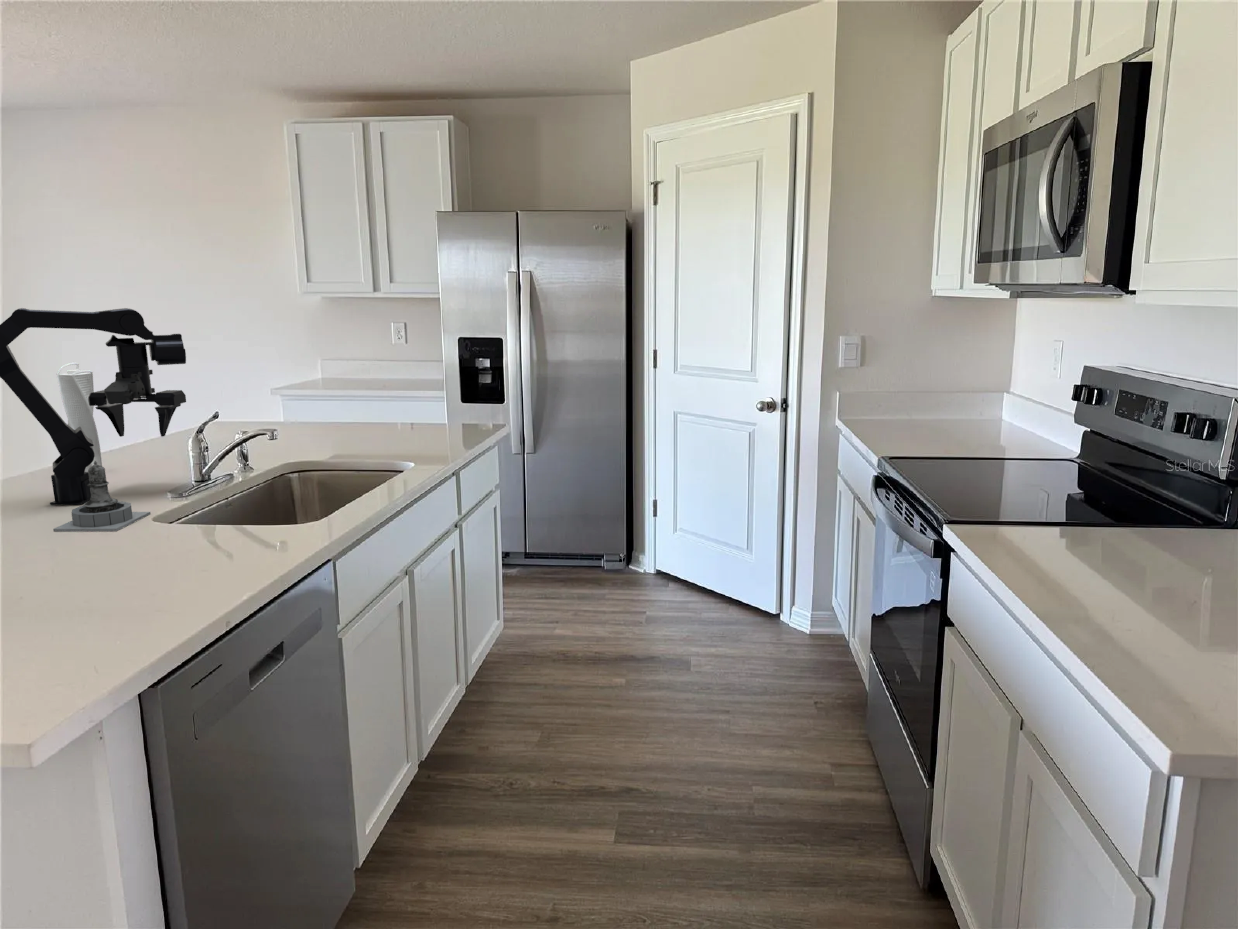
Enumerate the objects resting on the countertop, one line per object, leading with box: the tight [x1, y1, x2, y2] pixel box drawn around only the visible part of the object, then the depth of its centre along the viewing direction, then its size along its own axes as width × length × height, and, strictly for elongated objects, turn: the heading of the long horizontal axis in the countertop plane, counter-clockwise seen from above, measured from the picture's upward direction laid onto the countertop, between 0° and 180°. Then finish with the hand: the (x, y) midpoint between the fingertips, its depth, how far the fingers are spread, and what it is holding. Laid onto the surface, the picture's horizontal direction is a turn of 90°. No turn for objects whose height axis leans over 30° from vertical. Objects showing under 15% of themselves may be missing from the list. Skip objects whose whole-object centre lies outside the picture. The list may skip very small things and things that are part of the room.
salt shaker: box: [83, 461, 119, 513], centre depth 163 cm, size 6×6×12 cm
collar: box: [52, 500, 151, 532], centre depth 164 cm, size 12×12×3 cm
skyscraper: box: [56, 362, 103, 472], centre depth 200 cm, size 8×8×28 cm
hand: (142, 436), depth 185 cm, fingers open, 9 cm apart
